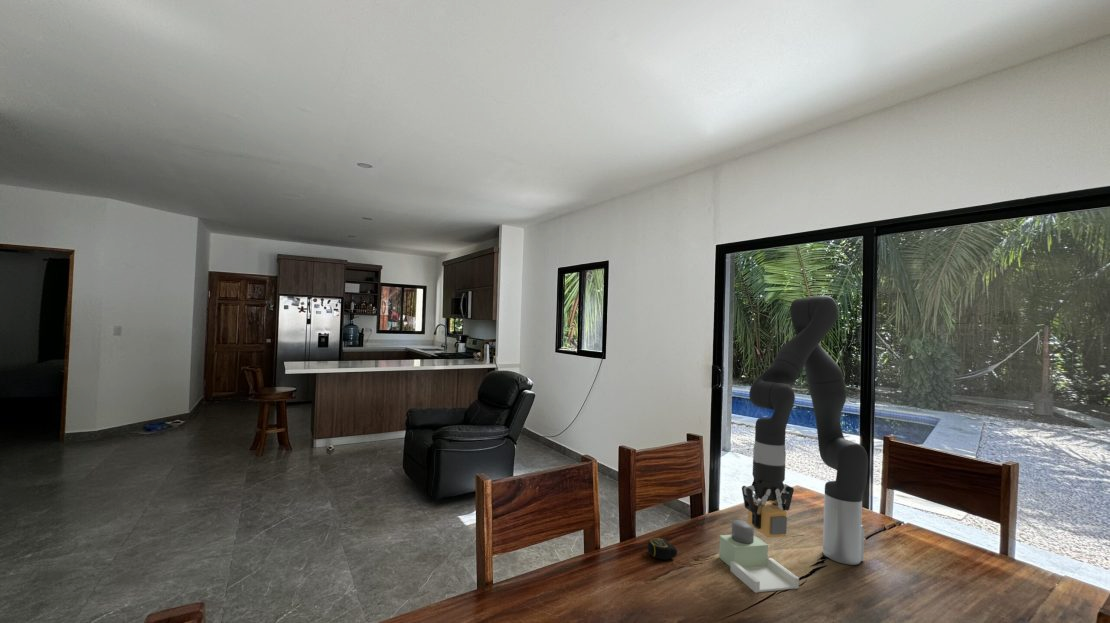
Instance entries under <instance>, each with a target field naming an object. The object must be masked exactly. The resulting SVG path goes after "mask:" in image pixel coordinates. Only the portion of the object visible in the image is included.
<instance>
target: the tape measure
mask: <svg viewBox="0 0 1110 623" xmlns="http://www.w3.org/2000/svg"><path fill="white" fill-rule="evenodd" d="M648 541H649V542H648V543H647V551H648V554H649V555H650V556H652V557H654V558H655V559H659V560H669V559H672V558H676V556H677V554H678V550H677V548H676V547H675V546H674V545H673V544H671V542H669V541H668V540H667V539H666V538H664V537H660V538H658V537H653V538H651V539H650V540H648Z"/></svg>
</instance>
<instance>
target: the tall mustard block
mask: <svg viewBox="0 0 1110 623" xmlns="http://www.w3.org/2000/svg"><path fill="white" fill-rule="evenodd" d="M759 500H760V501H761V499H759ZM757 506H758V505H757ZM787 521H788V517H787V510H785V511H784V510H782V509H780V508H778V507H777V506H775V505H772V503H771V501H767V502H766V504H765V506H763V508H762V511H761V529H757V528H755V527H754V526H753V524H752V512H751V511H750V510H748V509H747V522H748V524H749V525H750V526H752V527H753V528H754V530H756V531H758V532H759V533H761V534H762V535H764V536H766V538H779V537H783V538H784V537H786V536H787V535H786V534H787V529H788V528H787V523H788V522H787Z"/></svg>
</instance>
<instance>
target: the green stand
mask: <svg viewBox="0 0 1110 623" xmlns="http://www.w3.org/2000/svg"><path fill="white" fill-rule="evenodd" d="M718 546H719V550H718V557H719V559H720V560H722V561H723V562H724V563H725V564H726V565H727V566H729V568H730V572H731V573H732V574H733V575H734V576H736V577H737V578H738V579H739V580H740V581H741V582H742V583H743V584H744V585H746V587H748V588H749V589H751V590H752V591H753V592H754V593H756V594H757V593H765V592H773V591H774V592H775V591H783V590H794V589H796V590H797V589H799V588H800V578H799V577H798V576H797V575H795V574H794V573H793V572H792V571H790V570H789V569H787V568H786V567H785V566H783V565H782V564H781V563H779V562H778V561H777V560H776V559H773V558H772V557H768V554H769V544H767V543H766V542H765V541H763V540H762V539H760V538H759V537H757V536H756V535H755V528H753V527H752V526H750V525H749V524H748V521H746V520H740V519H737V520H733V521H731V534H721V535H719V545H718Z"/></svg>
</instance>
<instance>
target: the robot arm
mask: <svg viewBox="0 0 1110 623" xmlns="http://www.w3.org/2000/svg"><path fill="white" fill-rule="evenodd" d="M789 312H790V313H789V314H790V321H791V323H792V327H793V330H794V334H795V336H794V337H792V338H791V339H790V340H788V341H787V342H786V343H785V344H784V345H783V346H782V347H781V348H780V349H779V350H778V352H777V354H776V355H775V358H774V359H773V361H772V363H771V364H770V366H768V368H767V369H766V370H764V372H762V373H761V374H760V375H759V376H758V377H757V378H756V379H755V380H754V381H753V383H752V384H751V386H750V387H749V388H750V389H749V392H748V394H749V396H748V397H749V399H750V402H751V404H753V406H755V407H758V408H761V409H767V410H772V411H773V414H772V416H771V417H760V418H758V419H756V422H755V428H754V429H755V432H754V434H755V436H754V445H753V453H752V454H753V455H752V477H753V482H752V483H751V485H749V486H746V485H742V486H741V491H742V496H743V504H744V508H745V509H747V511H748V510H750V511H751V512H752V524H753V526H754V527H755V528H757V529H761V511H762V508H763V506H765V504H766V502H767V501H768V502H770V503H772V505H775V506H777V507H778V508H780V509H782V510H784V511H786V512H787V511H788V512H789V510H790V506H791V502H792V499H793V495H794V491H795V489H794V487H793V486H790V485H788V484H787V483H786V484H785V483H784V482H785V480H786V478H785V477H786V476H785V475H786V458H787V457H786V455H787V454H786V429H787V424H788V421H789V418H790V416H791V412H792V410H793V407H794V405H795V400H796V396H795V392H794V389H793V388H792V386H790V385H791V384H794V383H795V382H796V381H797V380H798V378H799V376H800V374H801V372H802V370H803V368H804V369H805V375H806V381H807V385H808V389H809V395H810V397H811V398H810V399H811V402H812V407H813V413H814V417H815V423H816V424H815V425H816V430H817V432H816V434H817V440H818V441H817V442H818V452H819V455H820V458H821V460H822V462H823V463H824V464H825V465H826V466H827V467H829V468H831V469H833V470H836V475H835V476H836V477H835V480H830V481H827V482H825V485H824V497H823V498H824V501H823V502H824V504H823V532H822V533H823V534H822V553H823V555H824V556H825V557H826V558H829V560H832V561H834V562H837V563H840V564H844V565H851V566H852V565H853V566H855V565H856V566H857V565H860V564H861V562H863V561H864V556H865V555H864V554H865V553H864V551H865V548H864V547H865V526H864V525H863V524H862V519H863V518H862V517H863V497H864V496H863V495H864V493H865V492H866V489H867V484H868V483H867V482H868V480H867V479H868V472H869V471H868V470H869V457H868V453H867V451H866V449H865V447H864V446H863V445H861V444H860V443H858V442H855V441H853V440H848V439H846V438H845V436H844V434H843V429H842V426H841V425H842V424H841V414H842V412H843V409H844V406H845V403H846V400H847V387H846V382H845V378H844V374H843V371H842V369H841V367H840V366H839V365H838V363H837V362H836V361H835V360H834V359H833V357H831V355H830V354H829V353H828V352H827V351H826V349H824V348H823V347H822V345H821V344H820V343H821V341H822V340H823V339H824V337H826V335H827V334H828V333H829V331H830V330H831V329H832V328H833V326H834V325H835V324H836V322H837V320H838V316H839V306H838V304H837V302H836V301H835V299H834V298H833V297H831V295H816V296H814V295H813V296H807V297H800V298H795V299H794V300H793V301H792V302H791V303H790V307H789ZM760 500H761V501H760ZM757 505H758V506H757ZM755 528H754V529H755Z"/></svg>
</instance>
